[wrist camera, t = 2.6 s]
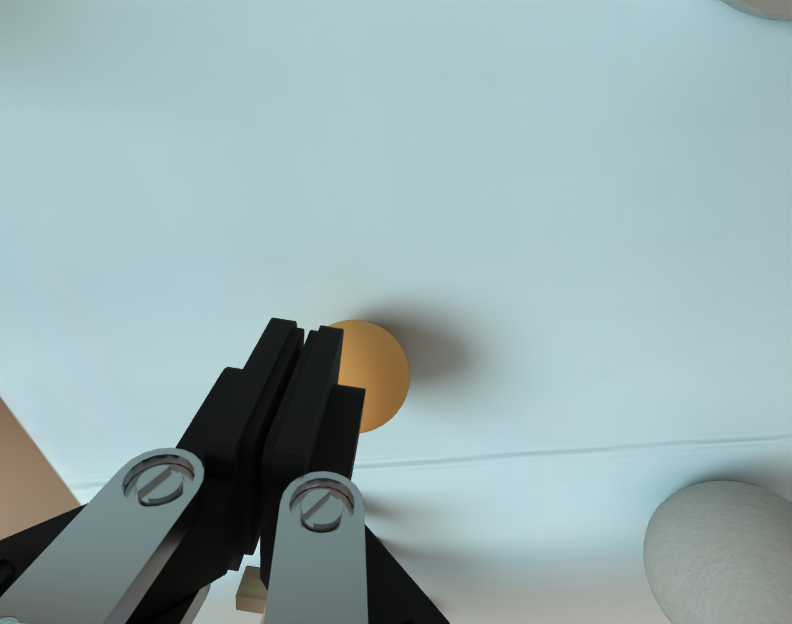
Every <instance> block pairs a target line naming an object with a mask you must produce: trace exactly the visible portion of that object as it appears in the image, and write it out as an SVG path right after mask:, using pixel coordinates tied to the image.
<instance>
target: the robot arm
mask: <svg viewBox="0 0 792 624" xmlns="http://www.w3.org/2000/svg"><path fill="white" fill-rule="evenodd" d="M722 1H723V2H725V3H727V4H728V5H730V6H731V7H733V8H735V9H736V10H738V11H742V12H745V13H748V14H752V15H755V16H758V17H762V18H765V19H778V20H792V0H722ZM343 336H344V329H341V328H335V327H329V326H322V325H321V326H320V328H319V330H318V331H315V330H310V332H309V334H308V337H307V339H306V342H305V344H304V329H302V328H297V323H296V321H291V320H285V319H279V318H271V320H270V321H269V323H268V325H267V327H266V329H265V330H264V332H263V334H262V336H261V338H260V339H259V341H258V343H257V345H256V347H255V348H254V350H253V352H252V354H251V355H250V357H249V359H248V361H247V363H246V364H245V366H244V368H243V369H238V368H232V367H227V368H225V369H224V370H223V372H222V373H221V375H220V376H219V378H218V379H217V381H216V383H215V384H214V386H213V388H212V389H211V391H210V392H209V394H208V396H207V397H206V399H205V401H204V402H203V404H202V405H201V407H200V409H199V410H198V412H197V414H196V415H195V417H194V418H193V420H192V422H191V423H190V425H189V427H188V428H187V430H186V431H185V433H184V435H183V436H182V438H181V440H180V441H179V443H178V444H177V446H176V448H162V449H155V450H152V451H148V452H145V453H143V454H141V455H139V456H137V457H135V458H133V459H131V460H130V461H129V462H128V463H127V464H125V465H124V466H123V467H122V468H121V469H120V470H119V471H118V472H117V473H116V474H115V475H114V476H113V477H112V478H111V480H110V481H109V482H108V483H107V484H106V485H105V486H104V487H103V488H102V489H101V490H100V491H99V492H98V493H97V495H96V496H95V497H94V498H93V499H92V500H91V501H90V502H89V503H87V504H85V505H83V506H80V507H78V508H76V509H73V510H71V511H69V512H66V513H64V514H62V515H59V516H57V517H54V518H52V519H49V520H47V521H45V522H43V523H40V524H38V525H35V526H33V527H31V528H28V529H26V530H23V531H21V532H19V533H16V534H14V535H12V536H9V537H7V538H5V539H2V540H0V624H192V623H193V621H194V619H195V617H196V615H197V614H198V612H199V610H200V608H201V606H202V605H203V603H204V601H205V599H206V597H207V595H208V592H209V590H210V584H211V583H212V582H213V581H215V580H217V579H218V578H220V577H222V576H223V575H225V574H226V573H227V571H228V570H234V571H238V570H239V567H240V565H241V562H242V559H243V556H244V554H246V555H253V554H254V552H255V549H256V546H257V543H258V540H259V538H260V579H261V581H262V583H263V584H264V586H265V587H266V589H267V591H268V595H267V603H266V610H265V617H264V624H450V623H449V621H448V620H447V619H446V618H445V617H444V616H443V614H442V613H441V612H440V611H439V610H438V609H437V607H436V606H435V605H434V604H433V603H432V602H431V600H430V599H429V598H428V597H427V596H426V595H425V593H424V592H423V591H422V590H421V589H420V588H419V586H418V585H417V584H416V583H415V582H414V581H413V580H412V578H411V577H410V576H409V575H408V574H407V573H406V571H405V570H404V569H403V568H402V567H401V566H400V564H399V563H398V562H397V561H396V560H395V559H394V557H393V556H392V555H391V554H390V553H389V552H388V550H387V549H386V548H385V547H384V546H383V545H382V543H381V542H380V541H379V540H378V539H377V538H376V536H375V535H374V534H373V533H372V532H371V531H370V529H369V528H368V527H367V526H366V525H365V521H364V503H363V499H362V494H361V493H360V491H359V490H358V488H357V486H356V485H355V484H354V483H352V482H351V477H352V472H353V466H354V461H355V455H356V449H357V444H358V438H359V432H360V426H361V420H362V413H363V407H364V400H365V393H366V389H365V388H359V387H352V386H346V385H340V384H338V380H339V371H340V362H341V354H342V345H343Z"/></svg>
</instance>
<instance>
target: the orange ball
mask: <svg viewBox="0 0 792 624" xmlns="http://www.w3.org/2000/svg"><path fill="white" fill-rule="evenodd" d="M329 327H335V328H341V329H344V336H343V345H342V354H341V362H340V371H339V380H338V384H340V385H346V386H352V387H359V388H365V389H366V393H365V400H364V407H363V413H362V420H361V426H360V432H359V433H364V432H368V431H372V430H374V429H376V428H378V427H380V426H382V425H384V424H385V423H387V422H388V421H389V420H390V419H391V418H392V417H393V416H394V415H395V414H396V413H397V412H398V410H399V409H400V407H401V406H402V405H403V402H404V400H405V398H406V396H407V392H408V389H409V382H410V369H409V364H408V360H407V357H406V354H405V352H404V350H403V348H402V347H401V345H400V344H399V342H398V341H397V340H396V339H395V338H394V337H393V336H392V335H391V334H390V333H389V332H388V331H387V330H385V329H384V328H382V327H380V326H378V325H376V324H373V323H370V322H367V321H361V320H346V321H341V322H337V323H335V324H332V325H329Z"/></svg>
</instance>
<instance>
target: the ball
mask: <svg viewBox="0 0 792 624" xmlns="http://www.w3.org/2000/svg"><path fill="white" fill-rule="evenodd" d="M643 557H644V567H645V572H646V576H647V580H648V583H649V586H650V588H651V591H652V593H653V595H654V597H655V599H656V601H657V603H658V605H659V606H660V608H661V609H662V611H663V612H664V614H665V615H666V617H667V618H668V619H669V621H670V622H671V623H672V624H792V503H791V502H789V501H788V500H786V499H784V498H782V497H780V496H779V495H777V494H775V493H773V492H770V491H768V490H766V489H763V488H761V487H758V486H755V485H751V484H747V483H743V482H736V481H707V482H702V483H697V484H694V485H691V486H688V487H685V488H683V489H681V490H679V491H677V492H676V493H674V494H672V495H671V496H670V497H668V498H667V499H666V500H665V501H664V502H663V503H662V504H661V505H660V506H659V507H658V508H657V509H656V511H655V512H654V513H653V515H652V517H651V519H650V521H649V524H648V526H647V530H646V533H645V539H644V548H643Z"/></svg>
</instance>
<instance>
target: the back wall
mask: <svg viewBox="0 0 792 624" xmlns="http://www.w3.org/2000/svg"><path fill="white" fill-rule="evenodd" d="M267 595H268V591H267V589H266V587H265V586H264V584H263V583H262V581H261V579H260V568H256V567H250V566H246V569H245V571H244V574H243V577H242V580H241V583H240V585H239V588H238V591H237V594H236V610H241V611H248V612H254V613H260V614H263V612H264V609H265V606H266V602H267Z"/></svg>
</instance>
